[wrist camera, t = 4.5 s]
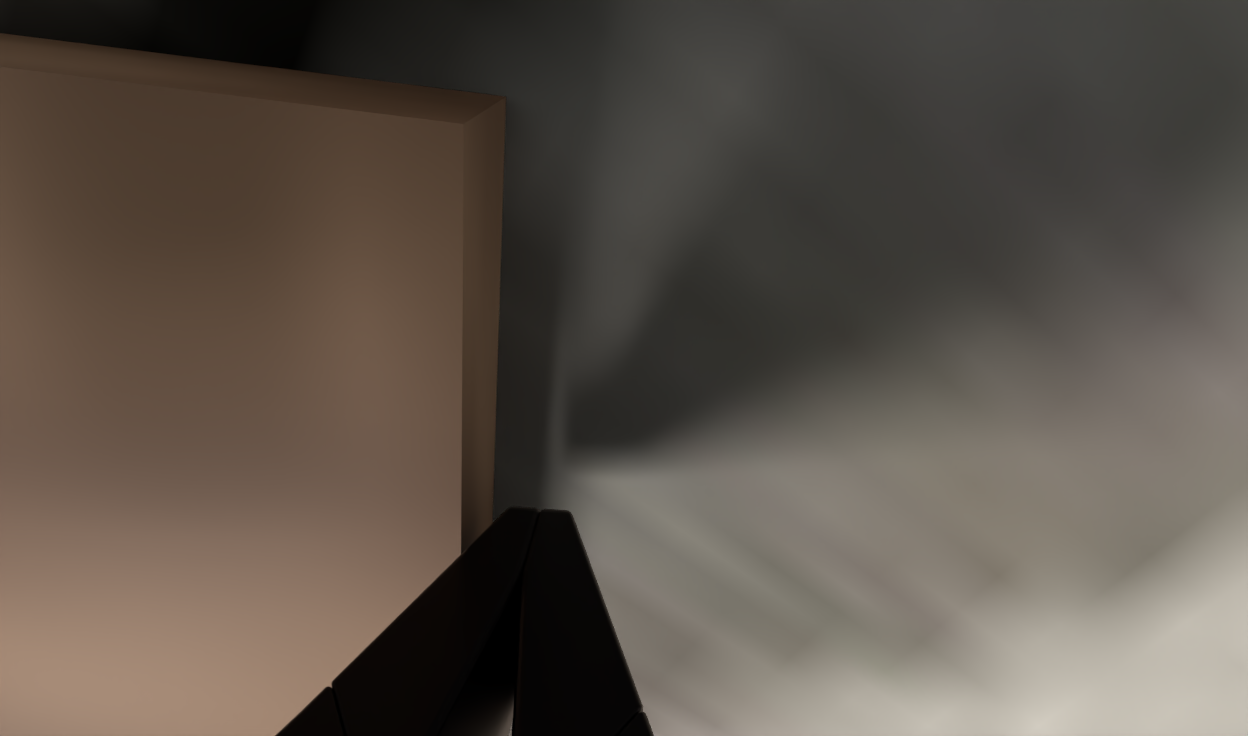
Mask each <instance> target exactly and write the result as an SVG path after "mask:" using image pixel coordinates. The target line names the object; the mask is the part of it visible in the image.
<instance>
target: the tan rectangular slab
mask: <svg viewBox="0 0 1248 736" xmlns="http://www.w3.org/2000/svg"><path fill="white" fill-rule="evenodd" d="M505 117H506V97H505V96H497V95H489V94H481V93H473V92H465V91H457V90H449V89H441V88H433V87H425V86H417V85H409V84H401V83H393V82H385V81H377V80H370V79H362V78H354V77H346V76H338V75H330V74H322V73H314V72H306V71H298V70H290V69H282V68H274V67H266V66H258V65H250V64H242V63H234V62H226V61H218V60H210V59H202V58H194V57H186V56H178V55H170V54H162V53H154V52H147V51H139V50H131V49H123V48H115V47H107V46H99V45H91V44H83V43H75V42H67V41H59V40H51V39H43V38H35V37H27V36H19V35H11V34H3V33H0V736H275V735H276V734H277V733H278V732H279V731H281V730H282V729H283V728H284V727H285V726H286V725H287V724H288V723H289V722H290V721H291V720H292V719H293V718H294V717H295V716H297V715H298V714H299V713H300V712H301V711H302V710H303V709H304V708H305V707H306V706H307V705H308V704H309V703H310V702H311V701H312V700H313V699H314V698H315V697H316V696H317V695H318V694H319V693H320V692H321V691H322V690H323V689H324V688H325V687H327V686H330V687H331V688H332V686H331V683H332V681H333V680H334V679H335V678H336V677H337V676H338V675H339V674H340V673H341V672H342V671H343V670H344V669H345V668H346V667H347V666H348V665H349V664H350V663H351V662H352V661H353V660H354V659H355V658H356V657H357V656H358V655H359V654H360V653H361V652H362V651H363V650H364V649H365V648H366V647H367V646H368V645H369V644H370V643H371V642H372V641H373V640H374V639H375V638H376V637H377V636H379V635H380V634H381V633H382V632H383V631H384V630H385V629H386V628H387V627H388V626H389V625H390V624H391V623H392V622H393V621H394V620H395V619H396V618H397V617H398V616H399V615H400V614H401V613H402V612H403V611H404V610H405V609H406V608H407V607H408V606H409V605H410V604H411V603H412V602H413V601H414V600H415V599H416V598H417V597H418V596H419V595H420V594H421V593H422V592H423V591H424V590H425V589H426V588H427V587H428V586H429V585H430V584H431V583H432V582H433V581H434V580H435V579H436V578H437V577H438V576H439V575H441V574H442V573H443V572H444V571H445V570H446V569H447V568H448V567H449V566H450V565H451V564H452V563H453V562H454V561H455V560H456V559H457V558H458V557H459V556H460V555H461V554H462V553H463V552H464V551H465V550H466V549H467V548H468V547H469V546H470V545H471V544H472V543H473V542H474V541H475V540H476V539H477V538H478V537H479V536H480V535H481V534H482V533H483V532H484V531H485V530H486V529H487V528H488V527H489V526H490V525H491V524H492V523H493V492H494V460H495V429H496V398H497V367H498V336H499V304H500V273H501V242H502V211H503V180H504V148H505Z"/></svg>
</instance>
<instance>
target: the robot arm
mask: <svg viewBox="0 0 1248 736" xmlns="http://www.w3.org/2000/svg"><path fill="white" fill-rule="evenodd" d="M331 686H332V688H331V687H330V686H327V687H325V688H324V689H323V690H322V691H321V692H320V693H319V694H318V695H317V696H316V697H315V698H314V699H313V700H312V701H311V702H310V703H309V704H308V705H307V706H306V707H305V708H304V709H303V710H302V711H301V712H300V713H299V714H298V715H297V716H295V717H294V718H293V719H292V720H291V721H290V722H289V723H288V724H287V725H286V726H285V727H284V728H283V729H282V730H281V731H279V732H278V733H277V734H276V735H275V736H508V734H509V731H510V727H511V723H512V720H513V723H512V736H654V735H653V732H652V729H651V726H650V724H649V721H648V718H647V716H646V714H645V713H644V712H643V706H642V703H641V700H640V698H639V695H638V692H637V689H636V687H635V684H634V681H633V678H632V676H631V673H630V670H629V667H628V665H627V662H626V659H625V657H624V654H623V651H622V648H621V646H620V643H619V640H618V637H617V635H616V632H615V629H614V627H613V624H612V621H611V618H610V616H609V613H608V610H607V607H606V605H605V602H604V599H603V597H602V594H601V591H600V588H599V586H598V583H597V580H596V577H595V575H594V572H593V569H592V567H591V564H590V561H589V558H588V556H587V553H586V550H585V547H584V545H583V542H582V539H581V537H580V534H579V531H578V528H577V526H576V523H575V520H574V517H573V515H572V514H571V512H569V511H567V510H555V509H543V510H541V511H540V510H539V509H538V508H530V507H517V506H513V507H510V508H508V509H507V510H506V511H505V512H504V513H503V514H501V515H500V516H499V517H498V518H497V519H496V520H495V521H494V522H493V523H492V524H491V525H490V526H489V527H488V528H487V529H486V530H485V531H484V532H483V533H482V534H481V535H480V536H479V537H478V538H477V539H476V540H475V541H474V542H473V543H472V544H471V545H470V546H469V547H468V548H467V549H466V550H465V551H464V552H463V553H462V554H461V555H460V556H459V557H458V558H457V559H456V560H455V561H454V562H453V563H452V564H451V565H450V566H449V567H448V568H447V569H446V570H445V571H444V572H443V573H442V574H441V575H439V576H438V577H437V578H436V579H435V580H434V581H433V582H432V583H431V584H430V585H429V586H428V587H427V588H426V589H425V590H424V591H423V592H422V593H421V594H420V595H419V596H418V597H417V598H416V599H415V600H414V601H413V602H412V603H411V604H410V605H409V606H408V607H407V608H406V609H405V610H404V611H403V612H402V613H401V614H400V615H399V616H398V617H397V618H396V619H395V620H394V621H393V622H392V623H391V624H390V625H389V626H388V627H387V628H386V629H385V630H384V631H383V632H382V633H381V634H380V635H379V636H377V637H376V638H375V639H374V640H373V641H372V642H371V643H370V644H369V645H368V646H367V647H366V648H365V649H364V650H363V651H362V652H361V653H360V654H359V655H358V656H357V657H356V658H355V659H354V660H353V661H352V662H351V663H350V664H349V665H348V666H347V667H346V668H345V669H344V670H343V671H342V672H341V673H340V674H339V675H338V676H337V677H336V678H335V679H334V680H333V681H332V683H331Z"/></svg>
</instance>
